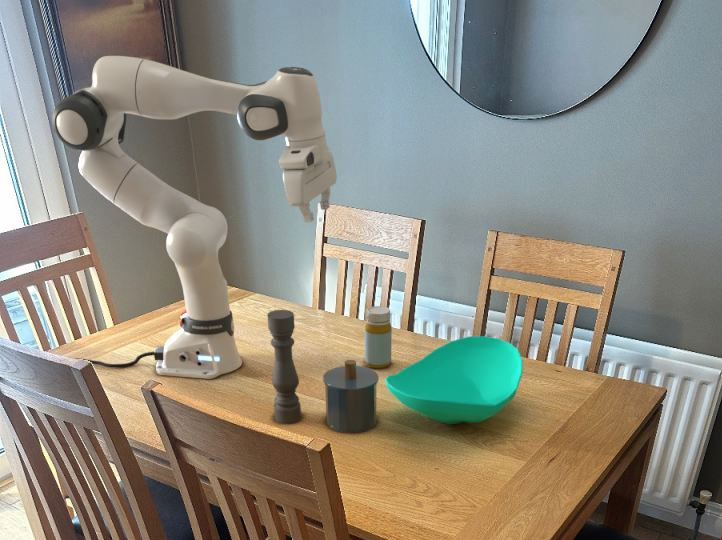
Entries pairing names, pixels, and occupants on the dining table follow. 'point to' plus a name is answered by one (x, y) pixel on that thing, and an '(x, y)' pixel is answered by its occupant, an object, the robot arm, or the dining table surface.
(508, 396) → the table top decor
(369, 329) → the bottle
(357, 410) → the crock
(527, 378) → the dining table surface
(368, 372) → the lid
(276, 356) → the candle holder
